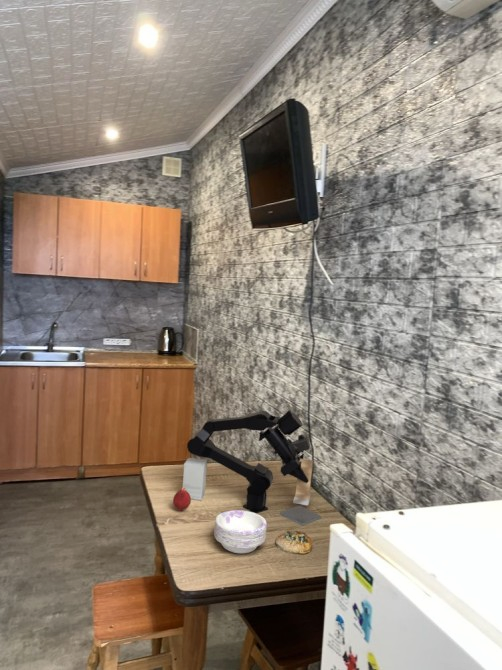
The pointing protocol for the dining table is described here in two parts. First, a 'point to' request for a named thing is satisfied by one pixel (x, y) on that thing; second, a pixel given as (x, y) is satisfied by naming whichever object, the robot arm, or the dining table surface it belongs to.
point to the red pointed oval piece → (182, 499)
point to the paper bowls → (240, 530)
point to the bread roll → (294, 542)
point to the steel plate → (300, 515)
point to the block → (304, 484)
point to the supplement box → (195, 477)
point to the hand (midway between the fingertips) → (308, 479)
